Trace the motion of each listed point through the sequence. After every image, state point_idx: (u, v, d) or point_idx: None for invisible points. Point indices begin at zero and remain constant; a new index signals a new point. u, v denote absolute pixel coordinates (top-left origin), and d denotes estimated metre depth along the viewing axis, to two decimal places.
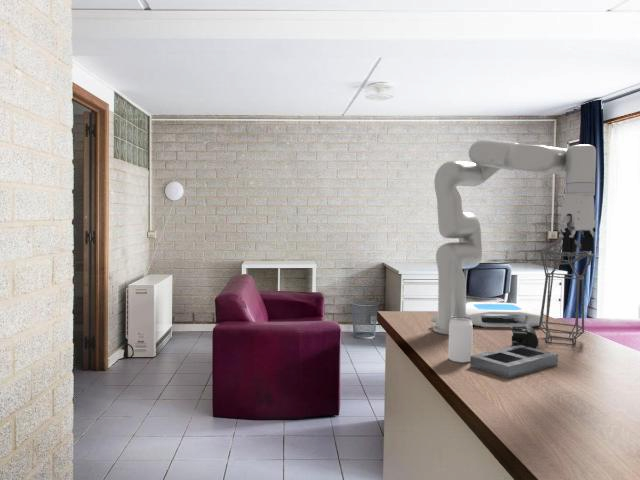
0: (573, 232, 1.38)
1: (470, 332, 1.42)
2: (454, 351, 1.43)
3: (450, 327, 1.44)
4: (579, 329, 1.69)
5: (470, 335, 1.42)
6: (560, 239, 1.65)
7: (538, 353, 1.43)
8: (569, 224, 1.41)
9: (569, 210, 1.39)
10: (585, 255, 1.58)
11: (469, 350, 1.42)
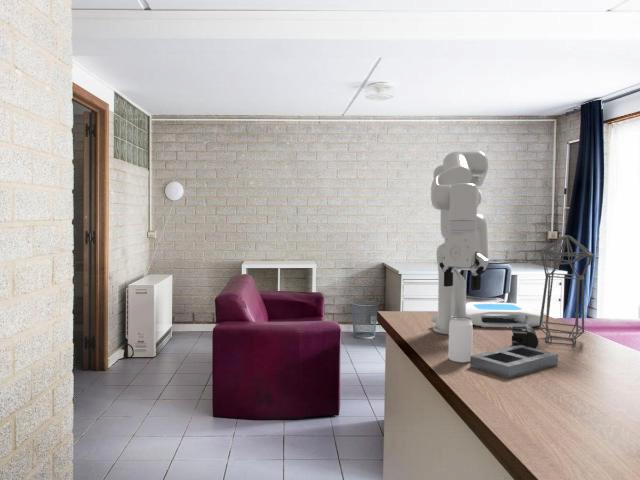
0: None
1: (470, 332, 1.42)
2: (454, 351, 1.43)
3: (450, 327, 1.44)
4: (579, 329, 1.69)
5: (470, 335, 1.42)
6: (560, 239, 1.65)
7: (538, 353, 1.43)
8: None
9: (476, 248, 1.39)
10: (585, 255, 1.58)
11: (469, 350, 1.42)
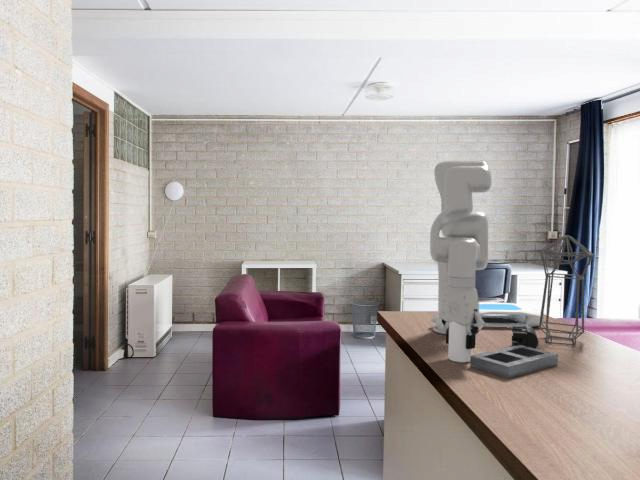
0: None
1: None
2: (453, 351, 1.43)
3: (450, 327, 1.44)
4: (579, 329, 1.69)
5: None
6: (560, 239, 1.65)
7: (538, 353, 1.43)
8: None
9: (475, 305, 1.40)
10: (585, 255, 1.58)
11: (469, 350, 1.42)
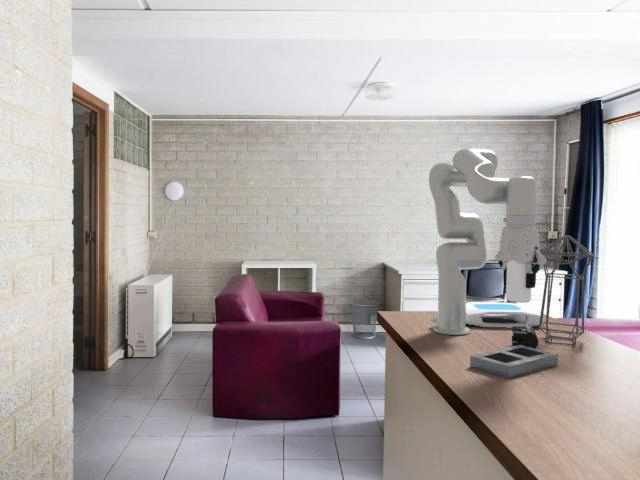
0: None
1: None
2: (512, 291, 1.40)
3: (508, 267, 1.41)
4: (579, 329, 1.69)
5: None
6: (560, 239, 1.65)
7: (538, 353, 1.43)
8: None
9: (536, 243, 1.37)
10: (585, 255, 1.58)
11: (529, 289, 1.39)
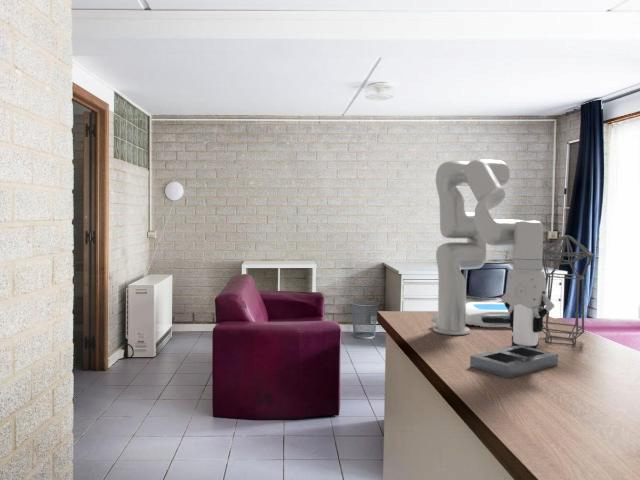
0: None
1: None
2: (520, 334, 1.40)
3: (516, 310, 1.41)
4: (579, 329, 1.69)
5: None
6: (560, 239, 1.65)
7: (538, 353, 1.43)
8: None
9: (543, 287, 1.38)
10: (585, 255, 1.58)
11: (536, 333, 1.40)
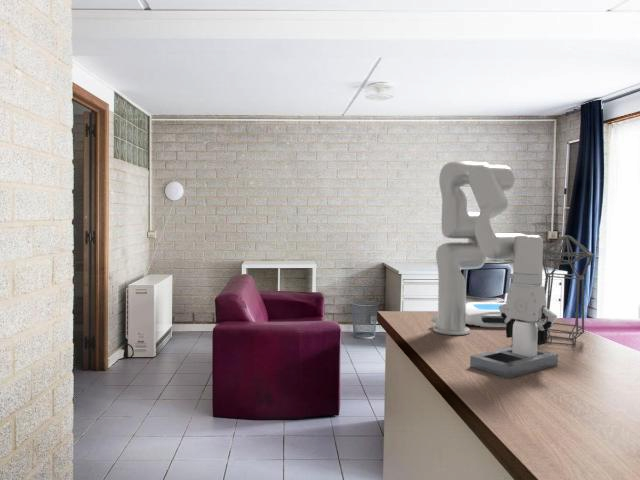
0: None
1: (536, 334, 1.40)
2: (519, 354, 1.40)
3: (514, 329, 1.42)
4: (579, 329, 1.69)
5: (536, 337, 1.40)
6: (560, 239, 1.65)
7: (538, 353, 1.43)
8: None
9: (543, 302, 1.38)
10: (585, 255, 1.58)
11: (535, 353, 1.40)
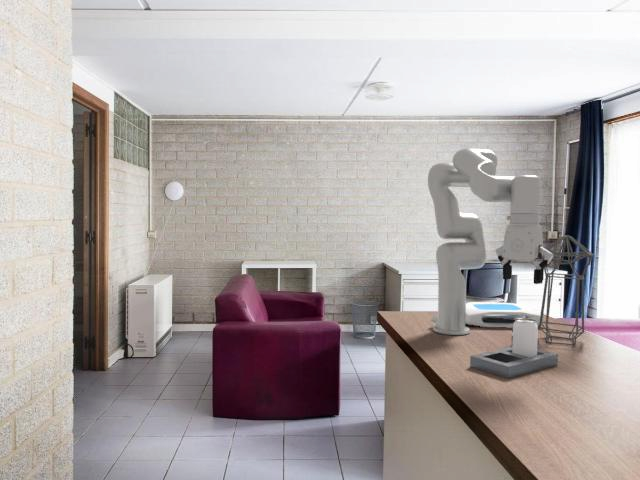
0: None
1: (536, 335, 1.40)
2: (519, 354, 1.40)
3: (515, 329, 1.42)
4: (579, 329, 1.69)
5: (536, 337, 1.40)
6: (560, 239, 1.65)
7: (538, 353, 1.43)
8: None
9: (540, 241, 1.38)
10: (585, 255, 1.58)
11: (535, 353, 1.40)
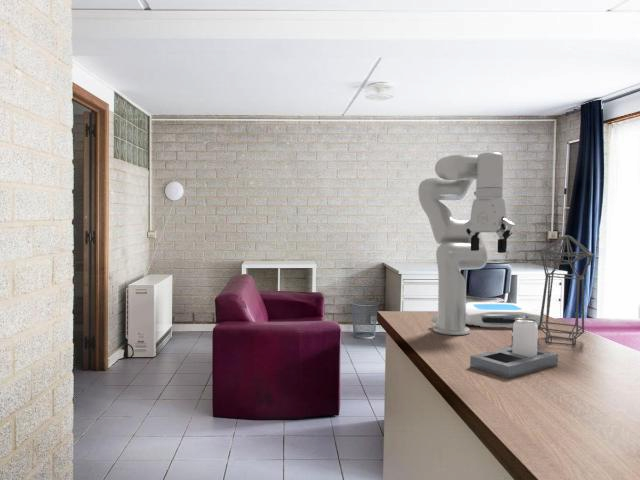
0: None
1: (536, 335, 1.40)
2: (519, 354, 1.40)
3: (515, 329, 1.42)
4: (579, 329, 1.69)
5: (536, 337, 1.40)
6: (560, 239, 1.65)
7: (538, 353, 1.43)
8: None
9: (503, 213, 1.49)
10: (585, 255, 1.58)
11: (535, 353, 1.40)
